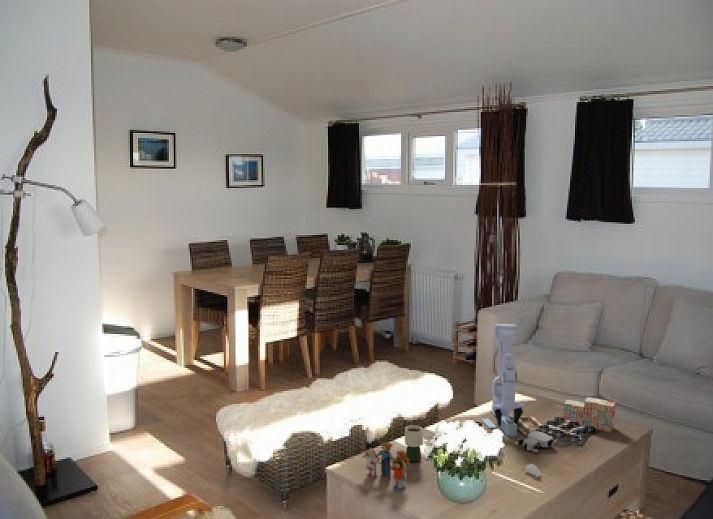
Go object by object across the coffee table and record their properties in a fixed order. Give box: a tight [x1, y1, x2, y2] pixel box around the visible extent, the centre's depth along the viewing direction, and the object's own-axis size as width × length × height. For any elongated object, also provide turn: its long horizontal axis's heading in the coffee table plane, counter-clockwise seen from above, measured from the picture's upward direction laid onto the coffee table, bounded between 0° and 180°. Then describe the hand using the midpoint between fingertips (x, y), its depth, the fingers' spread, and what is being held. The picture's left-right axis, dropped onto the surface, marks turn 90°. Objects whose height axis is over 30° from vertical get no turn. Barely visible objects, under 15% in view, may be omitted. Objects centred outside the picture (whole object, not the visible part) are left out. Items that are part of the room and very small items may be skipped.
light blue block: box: [498, 415, 518, 437], centre depth 283 cm, size 12×4×6 cm, turn 9°
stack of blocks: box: [562, 396, 616, 433], centre depth 290 cm, size 21×6×12 cm, turn 57°
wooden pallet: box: [512, 415, 543, 437], centre depth 285 cm, size 16×12×3 cm
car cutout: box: [524, 463, 541, 478], centre depth 244 cm, size 15×7×4 cm, turn 42°
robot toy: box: [514, 430, 558, 453], centre depth 266 cm, size 12×4×15 cm
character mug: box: [404, 425, 424, 462], centre depth 252 cm, size 11×7×13 cm, turn 34°
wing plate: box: [480, 418, 498, 429], centre depth 290 cm, size 10×4×1 cm, turn 10°
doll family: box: [361, 442, 411, 492], centre depth 235 cm, size 21×10×13 cm, turn 46°
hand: (507, 425), depth 282 cm, fingers open, 7 cm apart
